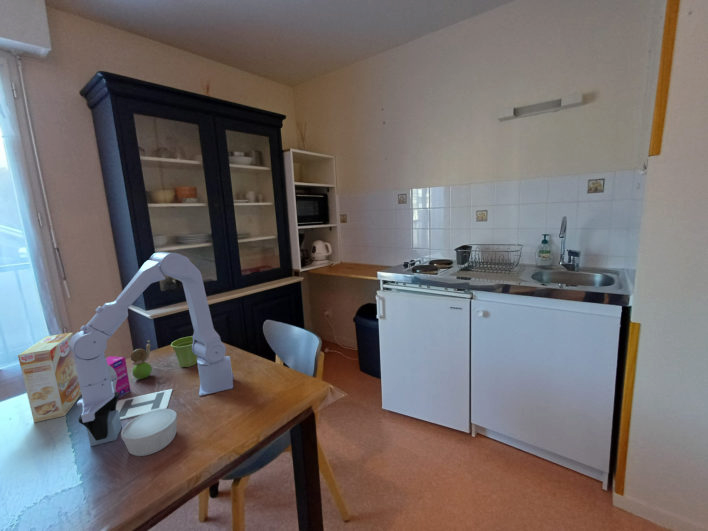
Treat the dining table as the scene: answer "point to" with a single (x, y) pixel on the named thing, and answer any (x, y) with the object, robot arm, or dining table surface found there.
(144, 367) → the snail figurine
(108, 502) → the dining table surface
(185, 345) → the plant pot
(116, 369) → the supplement box
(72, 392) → the coffeecake box
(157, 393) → the letter sheet
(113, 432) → the blue cube
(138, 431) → the ramekin
